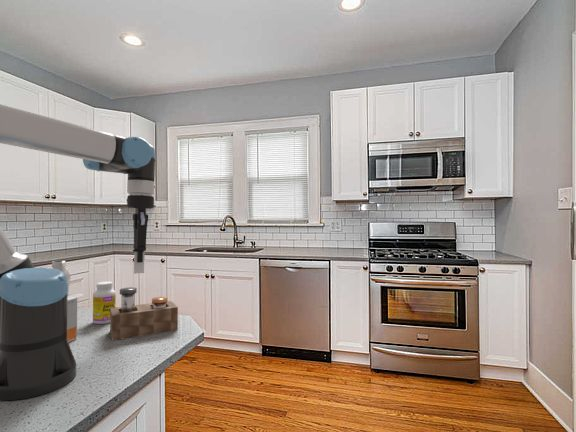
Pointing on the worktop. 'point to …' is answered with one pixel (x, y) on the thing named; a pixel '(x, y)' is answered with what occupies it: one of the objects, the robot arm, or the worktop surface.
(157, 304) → the rust plunger
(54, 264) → the plastic bottle
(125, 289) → the charcoal plunger
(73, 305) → the skincare box
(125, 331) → the walnut block
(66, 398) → the worktop surface
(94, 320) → the supplement bottle
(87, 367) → the worktop surface
